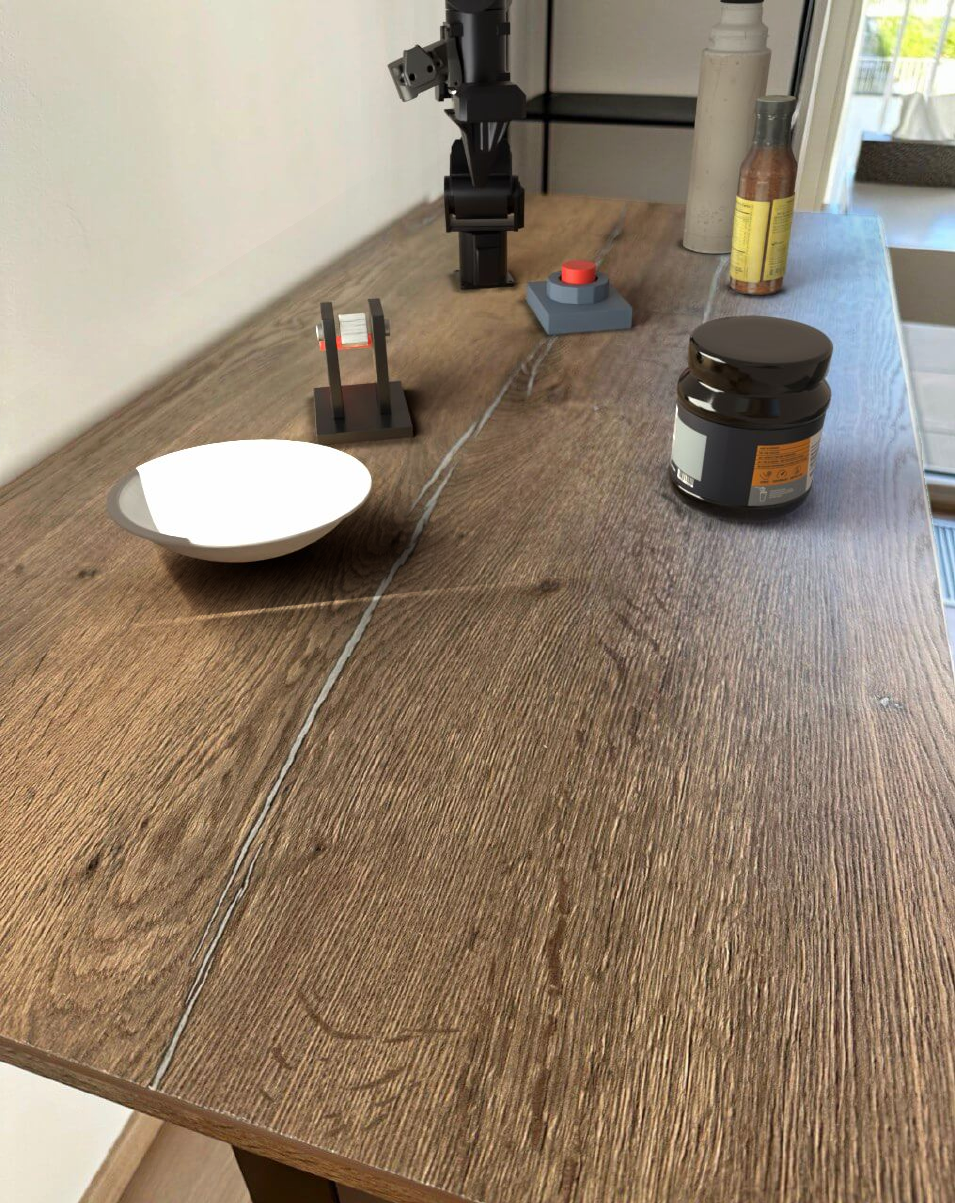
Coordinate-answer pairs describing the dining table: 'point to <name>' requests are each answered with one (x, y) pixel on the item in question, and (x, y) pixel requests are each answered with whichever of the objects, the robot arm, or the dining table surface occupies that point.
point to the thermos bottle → (725, 122)
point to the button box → (578, 305)
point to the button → (578, 272)
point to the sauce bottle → (765, 201)
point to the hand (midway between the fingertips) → (478, 187)
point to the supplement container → (750, 417)
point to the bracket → (359, 391)
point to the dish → (240, 498)
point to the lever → (352, 332)
